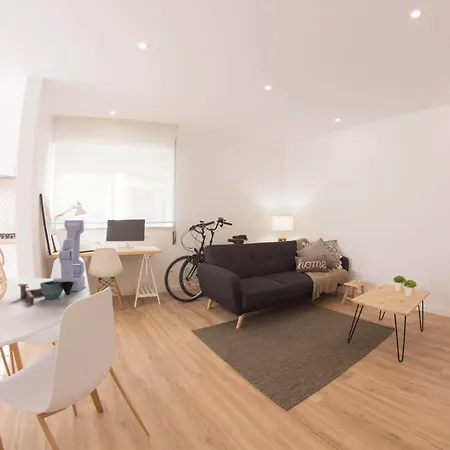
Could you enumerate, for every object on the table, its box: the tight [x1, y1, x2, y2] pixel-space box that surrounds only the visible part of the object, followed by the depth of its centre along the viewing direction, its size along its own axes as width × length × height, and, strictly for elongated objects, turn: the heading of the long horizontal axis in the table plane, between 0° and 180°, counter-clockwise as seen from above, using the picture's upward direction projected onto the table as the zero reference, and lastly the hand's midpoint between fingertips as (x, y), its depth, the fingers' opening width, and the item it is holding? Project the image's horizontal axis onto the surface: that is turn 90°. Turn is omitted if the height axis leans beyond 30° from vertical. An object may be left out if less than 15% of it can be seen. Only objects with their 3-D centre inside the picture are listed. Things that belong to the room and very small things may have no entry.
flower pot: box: [39, 279, 64, 300], centre depth 153 cm, size 9×9×9 cm
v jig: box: [17, 282, 43, 306], centre depth 153 cm, size 23×16×8 cm
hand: (67, 294), depth 153 cm, fingers closed
